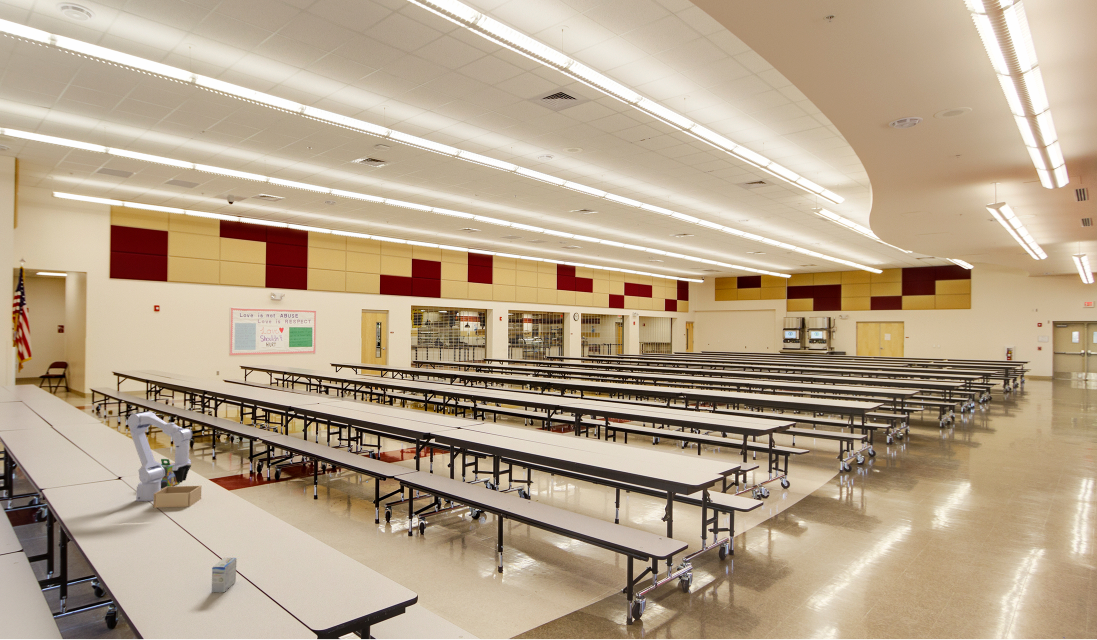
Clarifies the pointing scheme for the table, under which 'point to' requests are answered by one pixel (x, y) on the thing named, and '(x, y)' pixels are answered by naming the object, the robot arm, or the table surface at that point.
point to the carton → (192, 490)
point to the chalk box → (168, 474)
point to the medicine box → (223, 575)
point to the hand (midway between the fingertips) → (181, 481)
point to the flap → (172, 500)
